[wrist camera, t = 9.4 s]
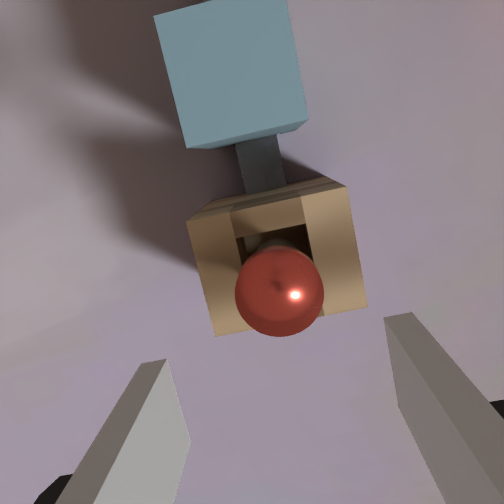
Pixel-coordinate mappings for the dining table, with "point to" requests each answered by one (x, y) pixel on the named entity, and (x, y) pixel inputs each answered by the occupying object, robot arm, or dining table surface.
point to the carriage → (232, 71)
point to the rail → (260, 163)
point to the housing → (277, 226)
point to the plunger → (279, 289)
